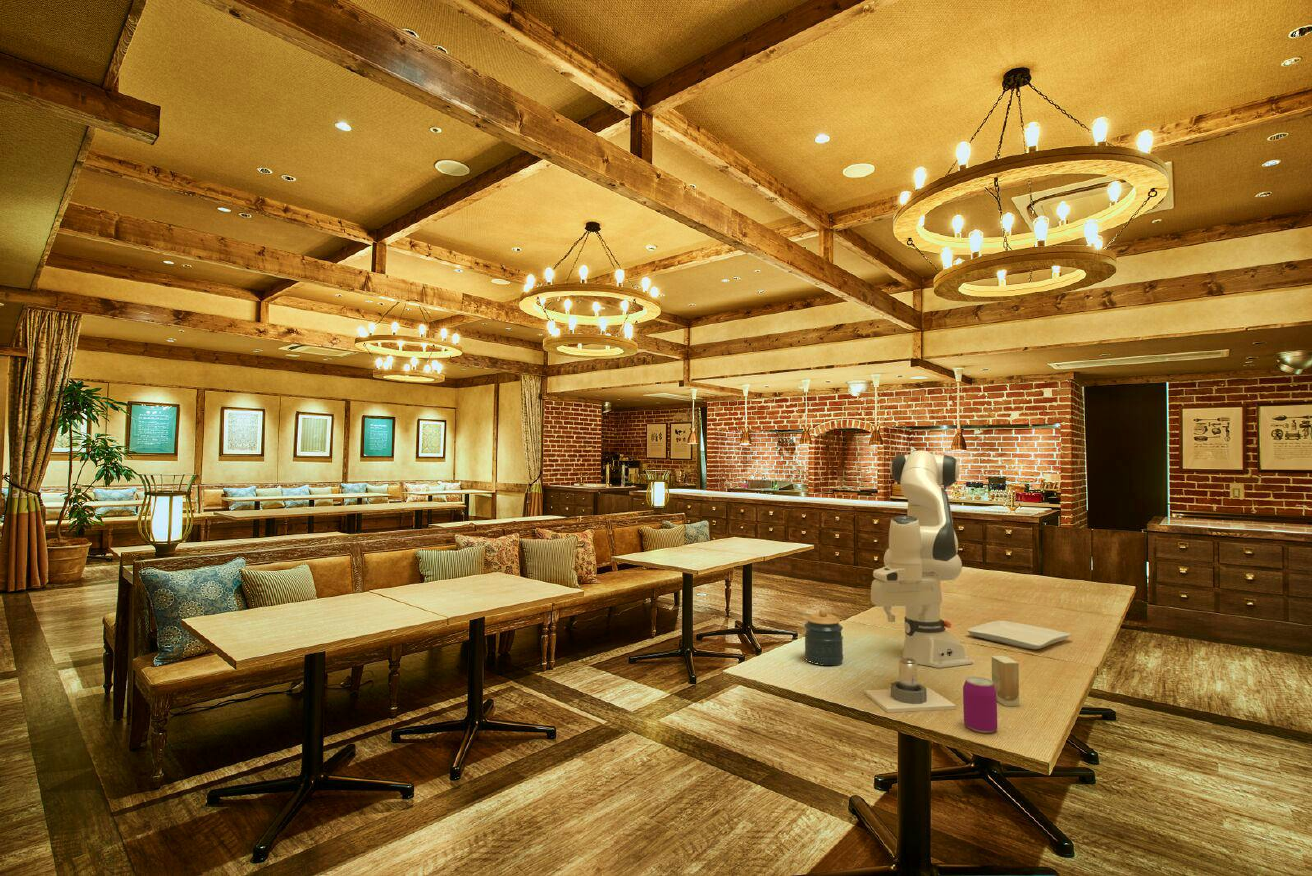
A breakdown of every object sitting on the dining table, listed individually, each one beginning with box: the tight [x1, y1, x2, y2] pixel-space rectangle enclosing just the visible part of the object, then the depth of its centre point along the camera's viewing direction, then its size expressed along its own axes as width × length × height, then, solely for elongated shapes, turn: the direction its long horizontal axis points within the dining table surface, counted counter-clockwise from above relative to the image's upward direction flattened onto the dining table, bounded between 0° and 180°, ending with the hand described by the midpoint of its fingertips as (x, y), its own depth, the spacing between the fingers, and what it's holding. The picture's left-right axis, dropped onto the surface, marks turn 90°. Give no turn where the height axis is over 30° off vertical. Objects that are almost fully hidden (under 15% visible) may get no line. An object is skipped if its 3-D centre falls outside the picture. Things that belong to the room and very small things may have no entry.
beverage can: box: [962, 675, 998, 734], centre depth 157 cm, size 8×8×12 cm
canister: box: [803, 608, 844, 666], centre depth 211 cm, size 13×13×18 cm
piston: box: [898, 657, 919, 691], centre depth 175 cm, size 5×5×11 cm
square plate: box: [966, 620, 1072, 650], centre depth 236 cm, size 27×27×4 cm
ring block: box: [863, 681, 957, 714], centre depth 174 cm, size 20×14×4 cm
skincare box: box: [991, 655, 1020, 707], centre depth 174 cm, size 6×4×12 cm
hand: (906, 621), depth 175 cm, fingers open, 8 cm apart
